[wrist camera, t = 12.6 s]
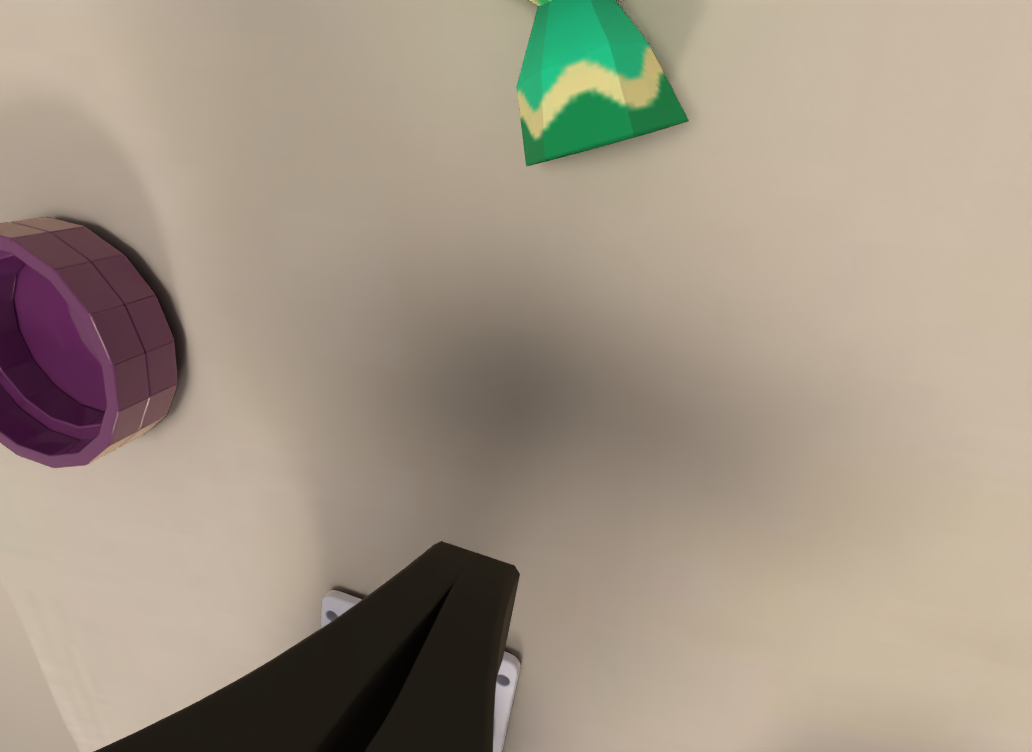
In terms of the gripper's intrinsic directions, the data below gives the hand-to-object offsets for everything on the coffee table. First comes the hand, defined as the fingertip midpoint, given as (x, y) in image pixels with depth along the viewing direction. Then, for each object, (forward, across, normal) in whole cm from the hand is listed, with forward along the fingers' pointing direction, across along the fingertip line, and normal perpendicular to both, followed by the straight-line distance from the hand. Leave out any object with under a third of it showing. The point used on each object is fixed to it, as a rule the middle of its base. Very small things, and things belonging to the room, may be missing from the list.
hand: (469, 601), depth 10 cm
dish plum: (+9, +18, +3) cm, 21 cm away
